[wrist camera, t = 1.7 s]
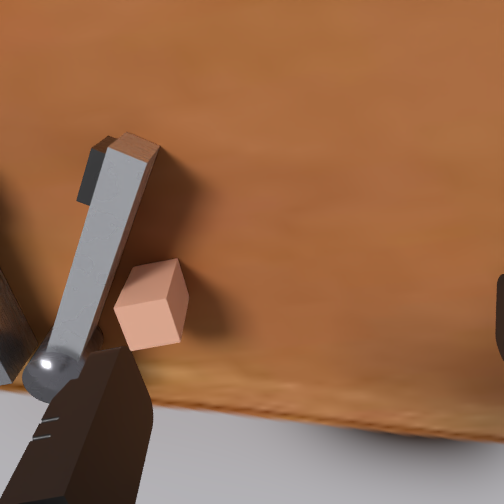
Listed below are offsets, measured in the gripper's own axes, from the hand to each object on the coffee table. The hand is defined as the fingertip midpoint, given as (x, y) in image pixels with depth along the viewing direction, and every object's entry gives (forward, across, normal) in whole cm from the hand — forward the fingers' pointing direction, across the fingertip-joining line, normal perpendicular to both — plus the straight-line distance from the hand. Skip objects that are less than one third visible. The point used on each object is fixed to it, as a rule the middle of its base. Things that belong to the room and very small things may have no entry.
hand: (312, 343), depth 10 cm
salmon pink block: (+18, +8, +7) cm, 21 cm away
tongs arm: (+18, +12, +5) cm, 22 cm away
